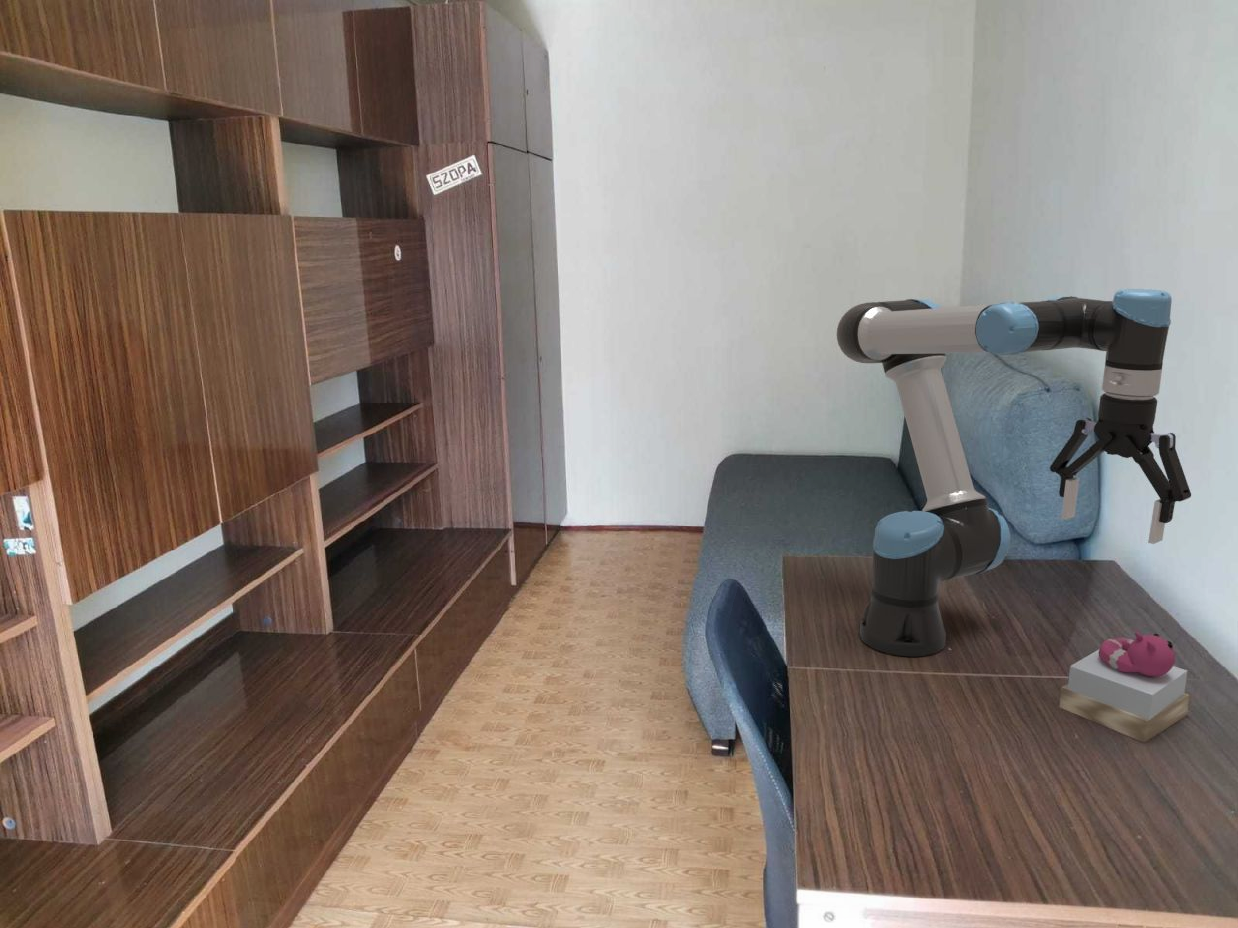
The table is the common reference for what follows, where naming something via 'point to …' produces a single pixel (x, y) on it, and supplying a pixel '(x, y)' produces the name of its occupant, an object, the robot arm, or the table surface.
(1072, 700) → the lower slab
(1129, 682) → the upper block
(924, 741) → the table surface
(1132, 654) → the toy
